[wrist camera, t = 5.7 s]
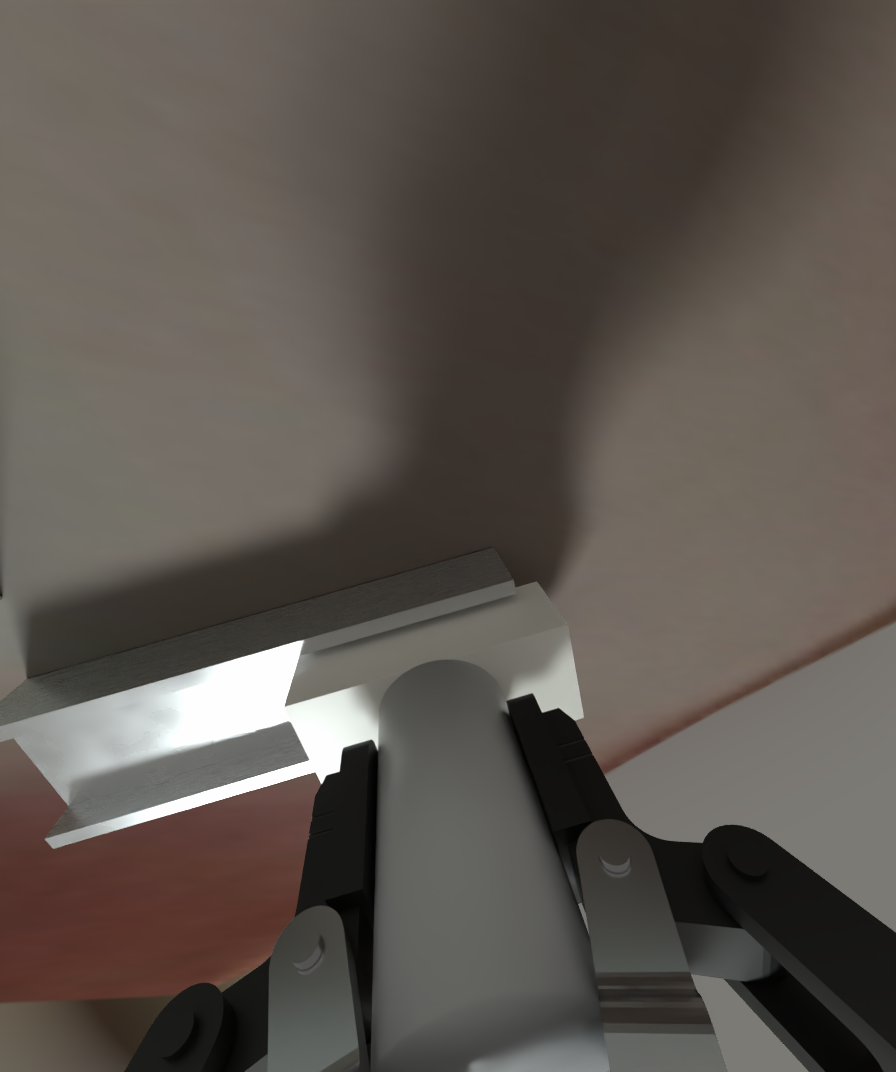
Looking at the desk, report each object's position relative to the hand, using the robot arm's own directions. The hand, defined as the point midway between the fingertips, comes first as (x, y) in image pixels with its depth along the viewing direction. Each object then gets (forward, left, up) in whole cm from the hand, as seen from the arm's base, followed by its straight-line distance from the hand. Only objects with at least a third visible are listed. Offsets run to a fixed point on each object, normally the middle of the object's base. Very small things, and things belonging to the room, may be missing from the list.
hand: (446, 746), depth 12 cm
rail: (+5, 0, -6) cm, 8 cm away
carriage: (0, 0, -4) cm, 4 cm away
